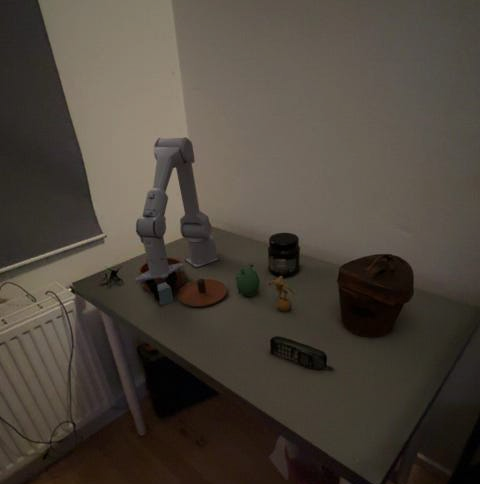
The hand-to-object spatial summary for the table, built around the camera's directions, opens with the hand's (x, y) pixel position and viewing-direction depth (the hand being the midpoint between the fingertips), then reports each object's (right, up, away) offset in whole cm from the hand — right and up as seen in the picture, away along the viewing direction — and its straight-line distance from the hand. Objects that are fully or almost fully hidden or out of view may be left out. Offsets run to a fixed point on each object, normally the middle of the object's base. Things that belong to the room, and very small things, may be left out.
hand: (164, 297), depth 107 cm
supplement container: (+38, +9, +12) cm, 41 cm away
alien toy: (+26, +1, +1) cm, 26 cm away
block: (0, -1, +1) cm, 1 cm away
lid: (+11, +1, +2) cm, 12 cm away
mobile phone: (+37, -15, -25) cm, 48 cm away
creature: (-20, +5, +12) cm, 24 cm away
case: (+57, -7, -15) cm, 59 cm away
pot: (-3, +5, +11) cm, 12 cm away
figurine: (+35, -4, -8) cm, 36 cm away
